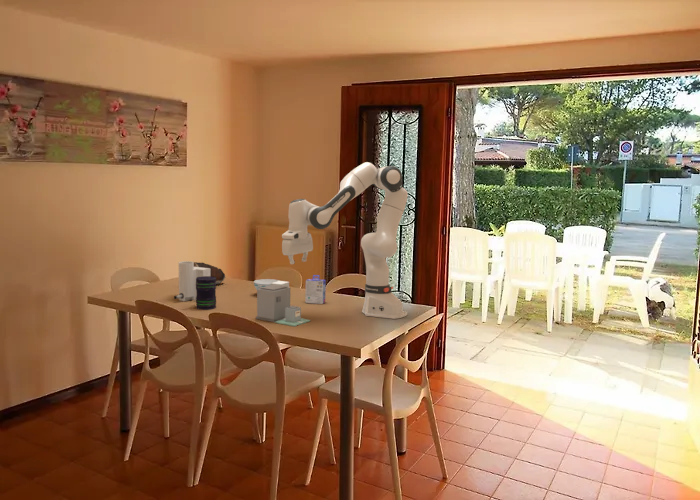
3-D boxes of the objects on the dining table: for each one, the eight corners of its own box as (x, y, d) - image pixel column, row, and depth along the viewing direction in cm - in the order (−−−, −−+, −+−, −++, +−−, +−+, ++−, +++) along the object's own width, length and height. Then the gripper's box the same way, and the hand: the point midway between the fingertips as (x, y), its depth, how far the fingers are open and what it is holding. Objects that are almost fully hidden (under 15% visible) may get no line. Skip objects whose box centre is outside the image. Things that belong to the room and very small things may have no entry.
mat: (310, 321, 274) (310, 319, 274) (294, 326, 264) (294, 325, 264) (291, 317, 280) (291, 316, 280) (275, 322, 270) (275, 321, 270)
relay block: (292, 318, 276) (292, 305, 275) (301, 320, 273) (301, 306, 272) (285, 320, 271) (285, 307, 271) (294, 322, 269) (294, 308, 268)
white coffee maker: (211, 298, 319) (210, 261, 317) (187, 304, 302) (187, 265, 300) (186, 295, 326) (186, 258, 323) (162, 301, 309) (162, 263, 307)
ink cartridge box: (325, 302, 316) (326, 275, 314) (323, 304, 311) (323, 276, 309) (307, 301, 318) (308, 274, 316) (304, 303, 313) (305, 275, 311)
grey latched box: (291, 316, 282) (292, 286, 280) (274, 322, 271) (274, 290, 269) (273, 313, 288) (273, 283, 286) (255, 318, 277) (255, 287, 275)
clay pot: (233, 264, 359) (200, 261, 339) (232, 290, 358) (198, 288, 338) (216, 265, 368) (183, 261, 348) (215, 290, 367) (182, 288, 347)
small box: (278, 305, 305) (278, 280, 304) (289, 307, 303) (289, 281, 301) (270, 308, 298) (270, 283, 296) (281, 310, 295) (281, 284, 294)
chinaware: (248, 294, 331) (248, 280, 330) (271, 291, 341) (271, 278, 340) (263, 299, 320) (263, 285, 319) (286, 295, 330) (286, 282, 329)
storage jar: (220, 307, 298) (220, 277, 297) (205, 310, 290) (205, 280, 289) (206, 304, 304) (206, 275, 302) (191, 307, 296) (191, 278, 294)
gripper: (305, 231, 291) (305, 259, 293) (279, 235, 274) (279, 265, 276) (316, 232, 288) (316, 260, 290) (290, 236, 271) (290, 266, 272)
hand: (298, 262), depth 283 cm, fingers open, 8 cm apart
